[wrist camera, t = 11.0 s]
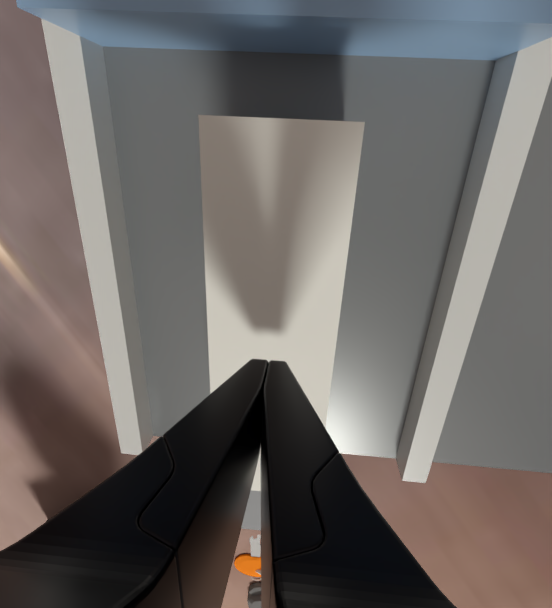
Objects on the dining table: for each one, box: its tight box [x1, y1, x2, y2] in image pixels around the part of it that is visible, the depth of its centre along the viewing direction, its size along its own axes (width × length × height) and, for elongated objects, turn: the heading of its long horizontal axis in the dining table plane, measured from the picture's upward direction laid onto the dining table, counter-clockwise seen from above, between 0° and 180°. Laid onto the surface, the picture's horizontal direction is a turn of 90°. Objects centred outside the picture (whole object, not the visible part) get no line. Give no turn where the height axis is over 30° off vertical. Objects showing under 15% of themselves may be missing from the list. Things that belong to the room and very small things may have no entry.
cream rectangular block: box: [198, 115, 365, 530], centre depth 12 cm, size 13×4×4 cm, turn 178°
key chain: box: [234, 535, 261, 608], centre depth 22 cm, size 13×4×2 cm, turn 18°
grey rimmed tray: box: [16, 0, 552, 483], centre depth 12 cm, size 17×26×4 cm, turn 87°
